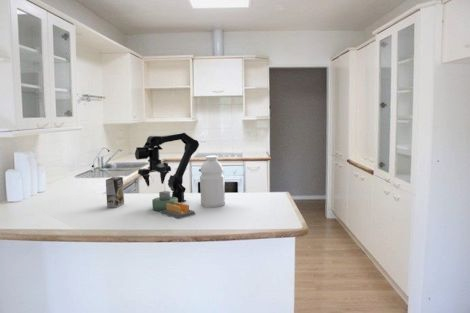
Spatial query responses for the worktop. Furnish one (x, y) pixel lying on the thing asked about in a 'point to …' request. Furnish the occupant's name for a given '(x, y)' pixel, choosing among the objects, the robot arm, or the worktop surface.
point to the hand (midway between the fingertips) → (155, 184)
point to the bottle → (212, 183)
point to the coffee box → (114, 192)
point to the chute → (177, 208)
